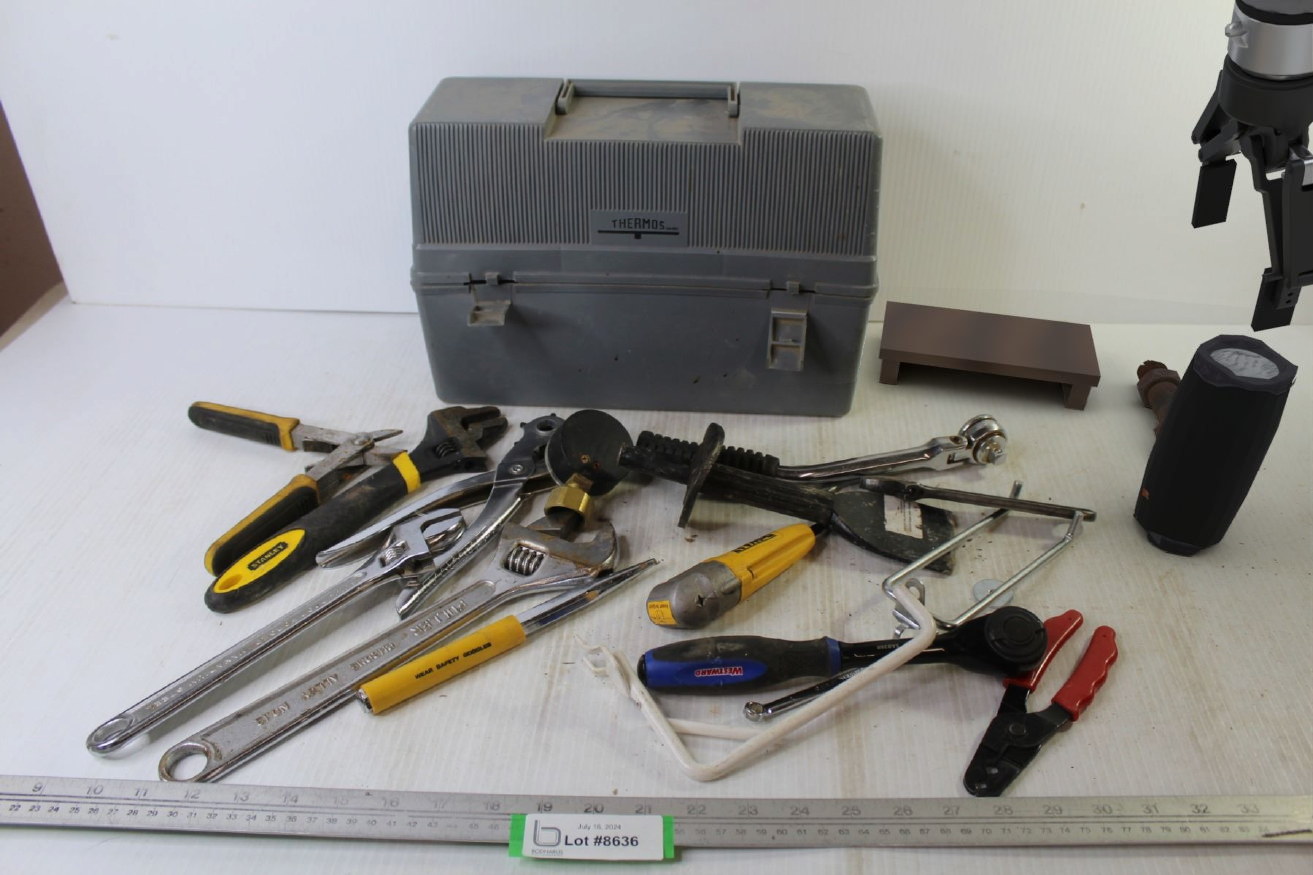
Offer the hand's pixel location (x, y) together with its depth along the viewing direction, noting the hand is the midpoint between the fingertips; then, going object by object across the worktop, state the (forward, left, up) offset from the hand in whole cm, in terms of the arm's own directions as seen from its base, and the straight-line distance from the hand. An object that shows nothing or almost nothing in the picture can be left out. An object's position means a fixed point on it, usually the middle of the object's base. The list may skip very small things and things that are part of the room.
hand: (1237, 272), depth 85 cm
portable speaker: (-1, +7, -24) cm, 25 cm away
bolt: (-3, -13, -24) cm, 28 cm away
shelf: (+17, -18, -24) cm, 35 cm away
